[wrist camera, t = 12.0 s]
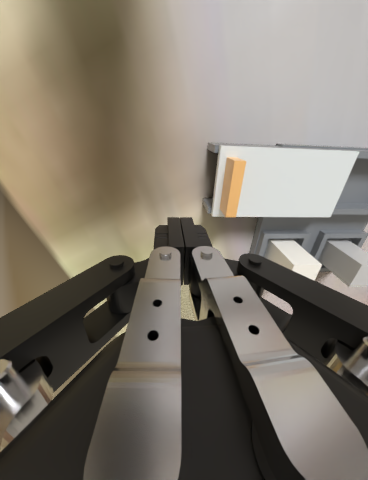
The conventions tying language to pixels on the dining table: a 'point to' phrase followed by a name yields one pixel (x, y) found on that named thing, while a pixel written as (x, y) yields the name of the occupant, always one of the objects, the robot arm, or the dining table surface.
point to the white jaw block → (292, 257)
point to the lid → (279, 181)
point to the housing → (324, 224)
